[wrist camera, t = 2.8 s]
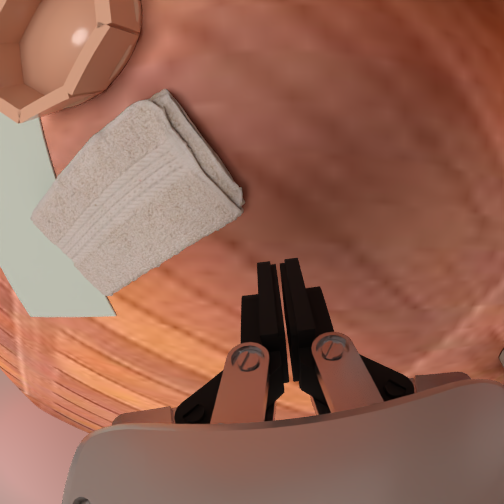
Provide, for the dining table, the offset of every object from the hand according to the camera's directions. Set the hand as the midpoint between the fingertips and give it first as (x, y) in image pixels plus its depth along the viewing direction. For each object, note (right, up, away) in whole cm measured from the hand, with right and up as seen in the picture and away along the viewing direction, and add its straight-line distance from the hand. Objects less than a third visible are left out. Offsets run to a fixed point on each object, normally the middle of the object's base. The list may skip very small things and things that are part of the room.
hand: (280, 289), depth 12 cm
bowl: (-16, +19, +3) cm, 25 cm away
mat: (-27, +4, +12) cm, 29 cm away
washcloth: (-12, +6, +11) cm, 17 cm away
